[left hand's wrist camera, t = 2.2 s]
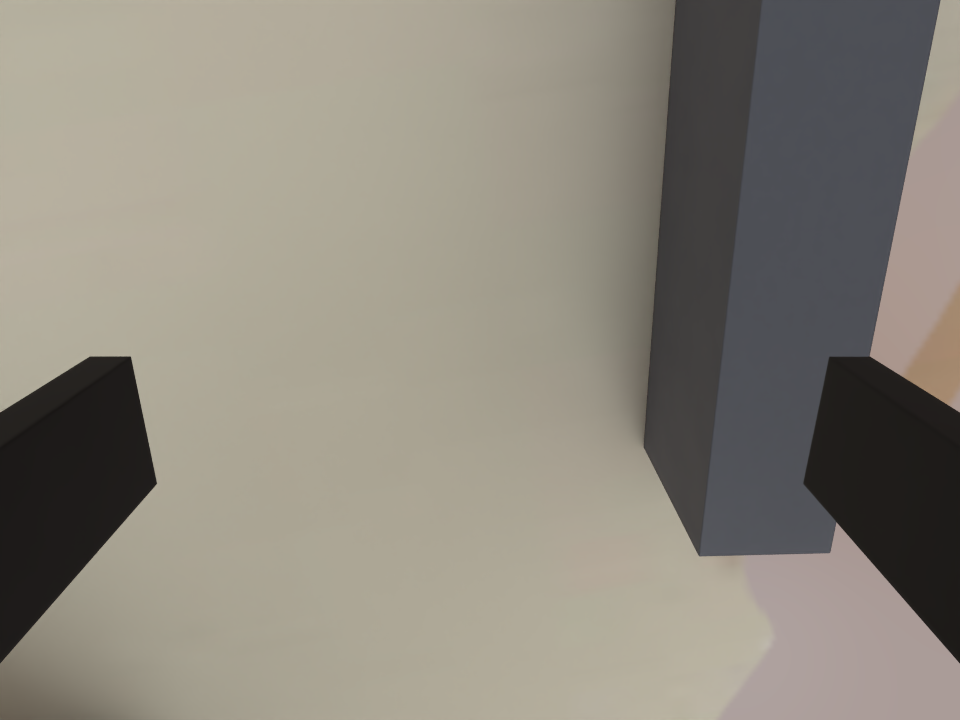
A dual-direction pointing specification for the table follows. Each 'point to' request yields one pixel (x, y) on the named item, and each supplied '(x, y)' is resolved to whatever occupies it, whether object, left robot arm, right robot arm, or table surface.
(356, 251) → the table surface
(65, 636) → the table surface
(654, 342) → the beam
